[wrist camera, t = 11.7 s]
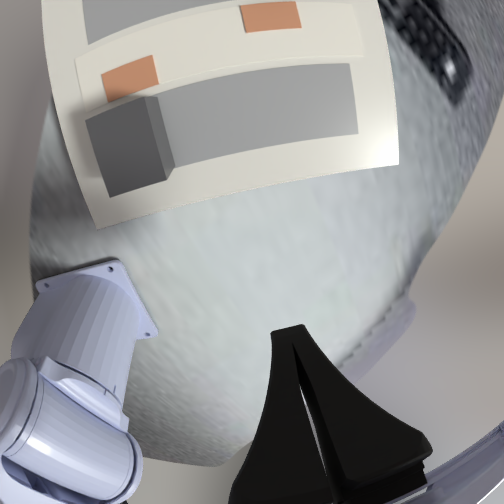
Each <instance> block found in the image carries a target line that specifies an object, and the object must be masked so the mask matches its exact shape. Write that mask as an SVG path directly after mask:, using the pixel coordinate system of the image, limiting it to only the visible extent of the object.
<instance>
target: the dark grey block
mask: <svg viewBox="0 0 504 504" xmlns="http://www.w3.org/2000/svg"><path fill="white" fill-rule="evenodd" d="M85 123H86V126H87V130H88V133H89V137H90V140H91V144H92V147H93V150H94V153H95V157H96V160H97V163H98V166H99V169H100V172H101V175H102V178H103V180H104V183H105V186H106V189H107V192H108V194H109V197H110V198H111V197H114V196H117V195H120V194H123V193H126V192H130V191H133V190H136V189H139V188H142V187H146V186H149V185H152V184H156V183H159V182H162V181H166V180H167V179H168V178H169V176H170V174H171V173H172V171H173V169H174V168H175V162H174V159H173V155H172V151H171V148H170V144H169V140H168V137H167V133H166V129H165V125H164V121H163V117H162V113H161V109H160V105H159V101H158V97H148V96H144V97H141V98H138V99H135V100H133V101H130V102H127V103H125V104H122V105H120V106H117V107H115V108H112V109H110V110H107V111H105V112H102V113H100V114H98V115H96V116H93V117H91V118H89V119H87V120H85Z"/></svg>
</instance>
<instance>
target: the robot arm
mask: <svg viewBox="0 0 504 504" xmlns="http://www.w3.org/2000/svg"><path fill="white" fill-rule="evenodd" d="M109 267H112V268H113V269H110V268H109ZM35 286H36V288H37V290H38V292H39V293H40V294H39V295H38V297H37V299H36V300H35V302H34V303H33V305H32V307H31V308H30V310H29V312H28V313H27V315H26V317H25V318H24V320H23V322H22V324H21V326H20V327H19V329H18V331H17V333H16V335H15V337H14V339H13V342H12V348H11V359H10V360H8V361H6V362H5V363H4V364H3V365H2V366H1V367H0V504H120V503H121V502H123V501H125V500H127V499H128V498H129V497H130V496H131V495H132V494H133V493H134V492H135V490H136V488H137V486H138V485H139V483H140V480H141V476H142V472H143V457H142V452H141V449H140V446H139V444H138V443H137V441H136V440H135V438H134V437H133V436H132V435H131V434H130V433H129V432H127V430H128V422H129V418H128V417H126V416H125V415H124V414H123V413H122V407H123V401H124V395H125V390H126V384H127V379H128V373H129V368H130V363H131V359H132V354H133V349H134V345H135V340H138V339H145V338H152V337H156V336H157V335H158V329H157V328H156V326H155V324H154V323H153V321H152V319H151V317H150V316H149V314H148V312H147V310H146V308H145V307H144V305H143V303H142V301H141V299H140V297H139V295H138V294H137V292H136V290H135V288H134V286H133V284H132V282H131V280H130V278H129V276H128V274H127V272H126V270H125V268H124V266H123V264H122V262H120V261H119V260H112V261H108V262H104V263H100V264H97V265H93V266H89V267H85V268H82V269H78V270H74V271H71V272H67V273H63V274H60V275H56V276H52V277H49V278H45V279H42V280H38V281H37V282H36V284H35ZM146 332H147V333H146ZM270 334H271V342H272V359H271V370H270V378H269V384H268V390H267V395H266V400H265V404H264V408H263V412H262V416H261V419H260V422H259V425H258V428H257V431H256V434H255V437H254V440H253V442H252V445H251V447H250V450H249V452H248V454H247V457H246V459H245V461H244V464H243V465H242V467H241V469H240V471H239V473H238V475H237V477H236V479H235V480H234V482H233V484H232V488H231V492H230V496H229V501H228V504H331V503H333V504H393V503H395V502H397V501H399V500H401V499H404V498H406V497H408V496H410V495H412V494H414V493H416V492H418V491H420V490H422V489H424V488H426V487H427V490H426V492H425V493H423V494H420V495H418V496H416V497H413V498H411V499H410V500H407V501H405V502H403V503H401V504H478V503H479V502H481V501H482V500H483V499H484V498H485V497H486V496H487V495H488V494H490V493H491V492H492V491H493V490H494V489H495V488H496V487H497V486H498V485H499V484H500V483H501V482H502V481H503V480H504V421H502V422H501V423H500V424H499V425H498V426H497V427H496V428H494V429H493V430H492V431H491V432H489V433H488V434H487V435H486V436H484V437H483V438H482V439H480V440H479V441H478V442H476V443H475V444H473V445H472V446H471V447H469V448H468V449H466V450H465V451H463V452H462V453H460V454H459V455H457V456H456V457H454V458H452V459H451V460H449V461H447V462H446V463H444V464H442V465H441V466H439V467H437V468H436V469H434V470H432V471H430V472H428V473H426V474H424V472H423V468H424V464H423V460H424V459H426V458H427V457H428V456H430V455H431V454H432V452H433V449H432V447H431V445H430V443H429V441H428V440H427V438H426V437H425V436H424V434H423V433H422V432H420V431H419V430H417V429H415V428H413V427H411V426H409V425H408V424H406V423H404V422H402V421H400V420H399V419H397V418H396V417H394V416H393V415H391V414H389V413H388V412H386V411H385V410H384V409H382V408H381V407H380V406H378V405H377V404H375V403H374V402H372V401H371V400H370V399H369V398H368V397H366V396H365V395H364V394H363V393H362V392H360V391H359V390H358V389H357V388H356V387H355V386H354V385H353V384H352V383H350V382H349V381H348V380H347V379H346V378H345V377H344V376H343V375H342V374H341V372H340V371H339V370H338V369H337V368H336V367H335V366H334V365H333V364H332V363H331V361H330V360H329V359H328V358H327V357H326V356H325V354H324V353H323V352H322V351H321V349H320V348H319V347H318V345H317V344H316V343H315V341H314V340H313V338H312V337H311V335H310V334H309V332H308V331H307V329H306V327H305V325H303V324H300V325H296V326H292V327H288V328H283V329H279V330H275V331H272V332H271V333H270ZM299 384H300V385H299ZM300 387H301V389H300ZM301 390H302V393H303V395H304V398H305V401H306V403H307V406H308V409H309V411H310V414H311V417H312V420H313V423H314V426H315V429H316V433H317V437H318V441H319V445H320V449H321V453H322V458H323V461H324V466H325V469H324V466H323V463H322V460H321V457H320V454H319V451H318V447H317V444H316V441H315V438H314V435H313V431H312V428H311V424H310V421H309V418H308V414H307V411H306V408H305V404H304V401H303V397H302V394H301ZM325 470H326V473H325ZM326 475H327V476H326Z"/></svg>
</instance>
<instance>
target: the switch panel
mask: <svg viewBox="0 0 504 504" xmlns="http://www.w3.org/2000/svg"><path fill="white" fill-rule="evenodd" d="M41 9H42V24H43V36H44V45H45V53H46V60H47V66H48V72H49V78H50V83H51V88H52V93H53V97H54V102H55V106H56V110H57V114H58V118H59V122H60V126H61V130H62V133H63V137H64V140H65V144H66V147H67V150H68V153H69V157H70V160H71V163H72V166H73V169H74V172H75V175H76V177H77V180H78V183H79V186H80V188H81V191H82V194H83V196H84V199H85V201H86V204H87V207H88V209H89V211H90V214H91V216H92V219H93V221H94V223H95V226H96V228H97V230H100V229H103V228H106V227H109V226H112V225H116V224H119V223H122V222H126V221H129V220H132V219H136V218H139V217H143V216H146V215H150V214H153V213H157V212H161V211H164V210H168V209H172V208H176V207H179V206H183V205H187V204H191V203H195V202H199V201H203V200H207V199H211V198H216V197H220V196H224V195H228V194H233V193H237V192H242V191H246V190H251V189H256V188H260V187H265V186H270V185H275V184H280V183H285V182H290V181H295V180H301V179H306V178H312V177H318V176H323V175H329V174H335V173H341V172H348V171H354V170H361V169H368V168H375V167H383V166H390V165H398V164H399V152H398V128H397V113H396V102H395V92H394V84H393V76H392V69H391V63H390V57H389V51H388V46H387V40H386V36H385V31H384V26H383V22H382V18H381V14H380V10H379V6H378V2H377V0H41ZM144 96H148V97H158V101H159V105H160V109H161V113H162V117H163V121H164V125H165V129H166V133H167V137H168V140H169V144H170V148H171V151H172V155H173V159H174V162H175V168H174V169H173V171H172V173H171V174H170V176H169V178H168V179H167V180H166V181H162V182H159V183H156V184H152V185H149V186H146V187H142V188H139V189H136V190H133V191H130V192H126V193H123V194H120V195H117V196H114V197H111V198H110V197H109V194H108V192H107V189H106V186H105V183H104V180H103V178H102V175H101V172H100V169H99V166H98V163H97V160H96V157H95V153H94V150H93V147H92V144H91V140H90V137H89V133H88V130H87V126H86V123H85V120H87V119H89V118H91V117H93V116H96V115H98V114H100V113H102V112H105V111H107V110H110V109H112V108H115V107H117V106H120V105H122V104H125V103H127V102H130V101H133V100H135V99H138V98H141V97H144Z"/></svg>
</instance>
